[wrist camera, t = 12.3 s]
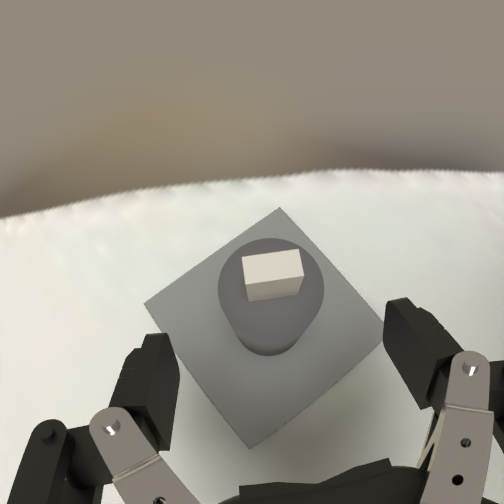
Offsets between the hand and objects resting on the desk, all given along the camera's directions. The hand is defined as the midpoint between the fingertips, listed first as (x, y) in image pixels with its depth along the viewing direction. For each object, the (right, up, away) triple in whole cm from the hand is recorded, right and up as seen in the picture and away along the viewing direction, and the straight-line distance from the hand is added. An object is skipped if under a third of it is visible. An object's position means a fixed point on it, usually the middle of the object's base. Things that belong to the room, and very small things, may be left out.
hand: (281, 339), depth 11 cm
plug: (0, -1, +9) cm, 10 cm away
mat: (0, -2, +10) cm, 10 cm away
